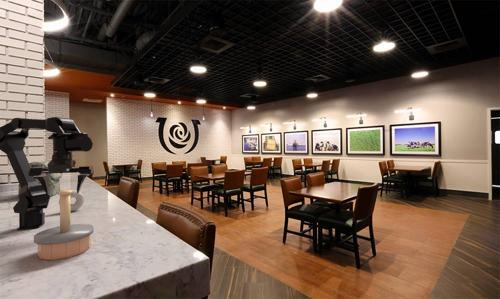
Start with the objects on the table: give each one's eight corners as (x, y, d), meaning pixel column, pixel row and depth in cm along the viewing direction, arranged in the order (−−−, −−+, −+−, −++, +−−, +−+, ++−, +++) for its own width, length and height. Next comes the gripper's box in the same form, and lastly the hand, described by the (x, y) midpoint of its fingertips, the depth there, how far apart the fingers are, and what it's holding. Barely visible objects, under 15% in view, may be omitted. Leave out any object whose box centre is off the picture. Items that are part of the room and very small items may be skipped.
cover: (19, 242, 67) (19, 194, 67) (65, 226, 81) (65, 186, 81) (64, 246, 65) (64, 196, 65) (104, 228, 79) (104, 187, 79)
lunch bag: (53, 197, 152) (53, 161, 152) (14, 200, 145) (14, 162, 144) (64, 190, 176) (63, 159, 176) (31, 192, 168) (30, 160, 168)
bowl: (33, 252, 72) (33, 236, 72) (81, 240, 82) (80, 226, 81) (46, 264, 65) (45, 246, 65) (96, 249, 74) (96, 234, 74)
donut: (59, 213, 114) (59, 192, 114) (58, 212, 117) (58, 191, 117) (85, 210, 121) (85, 189, 121) (83, 208, 124) (83, 188, 124)
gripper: (20, 152, 81) (20, 200, 82) (87, 151, 89) (88, 195, 89) (34, 151, 92) (34, 194, 92) (93, 151, 99) (94, 190, 99)
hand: (63, 194), depth 93 cm, fingers open, 9 cm apart
